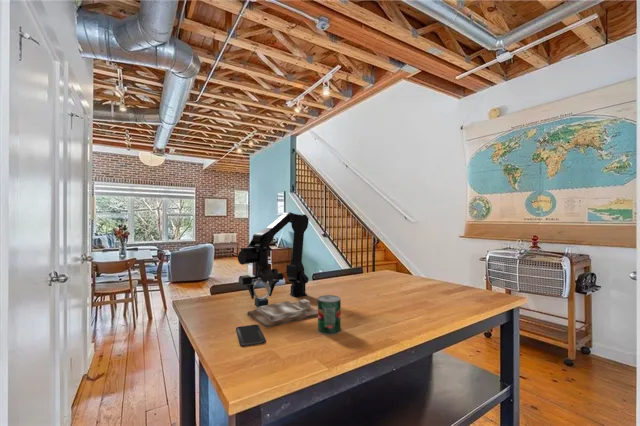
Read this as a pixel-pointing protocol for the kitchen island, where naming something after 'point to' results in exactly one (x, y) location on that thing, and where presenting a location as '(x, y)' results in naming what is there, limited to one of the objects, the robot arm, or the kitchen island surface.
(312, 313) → the charging board
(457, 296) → the kitchen island surface
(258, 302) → the watch
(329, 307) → the canned tomato
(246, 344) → the phone
